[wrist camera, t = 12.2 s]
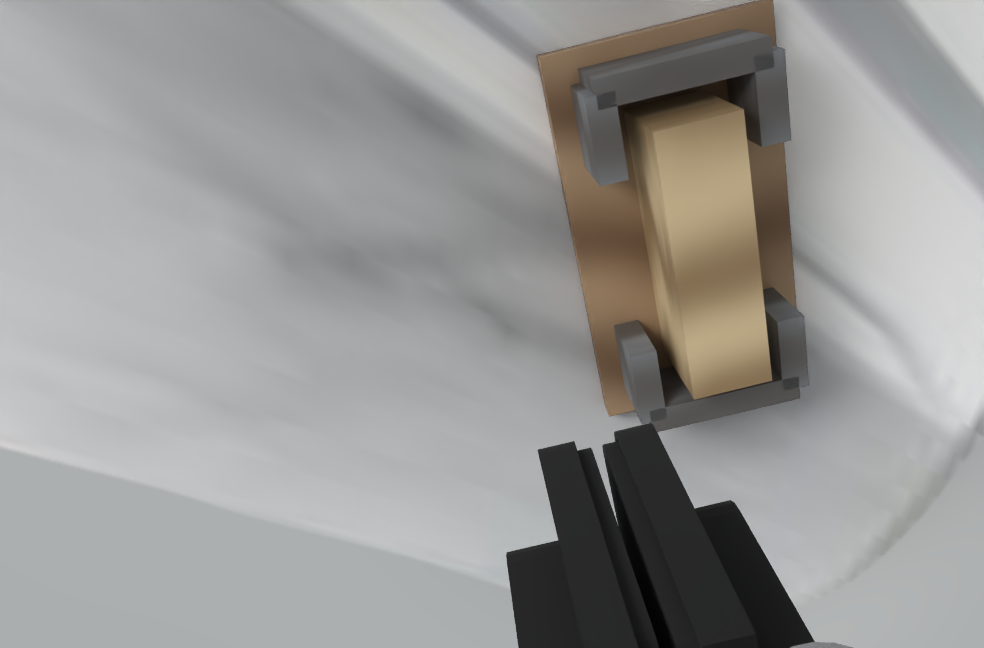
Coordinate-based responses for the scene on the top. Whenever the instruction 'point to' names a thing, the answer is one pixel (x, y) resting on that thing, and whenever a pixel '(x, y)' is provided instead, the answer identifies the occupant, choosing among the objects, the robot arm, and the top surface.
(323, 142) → the top surface
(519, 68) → the top surface
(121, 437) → the top surface
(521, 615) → the robot arm
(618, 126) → the rail
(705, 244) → the beige rectangular block
